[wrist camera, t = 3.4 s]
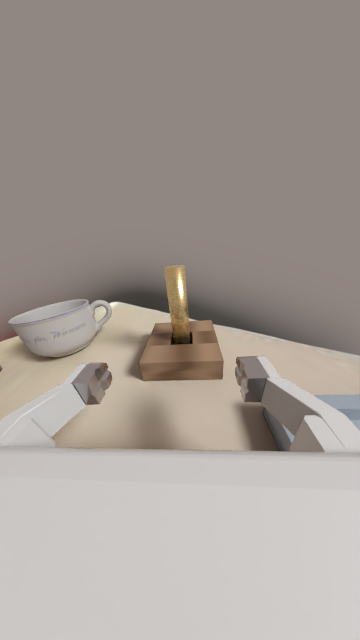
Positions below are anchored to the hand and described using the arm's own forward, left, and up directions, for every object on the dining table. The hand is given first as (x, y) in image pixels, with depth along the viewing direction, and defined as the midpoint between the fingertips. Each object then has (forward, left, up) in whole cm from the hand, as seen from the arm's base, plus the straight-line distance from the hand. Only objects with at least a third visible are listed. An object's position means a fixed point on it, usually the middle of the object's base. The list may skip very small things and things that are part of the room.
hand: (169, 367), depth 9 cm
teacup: (-20, +15, -9) cm, 27 cm away
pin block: (0, +11, -8) cm, 14 cm away
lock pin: (0, +11, -8) cm, 14 cm away
